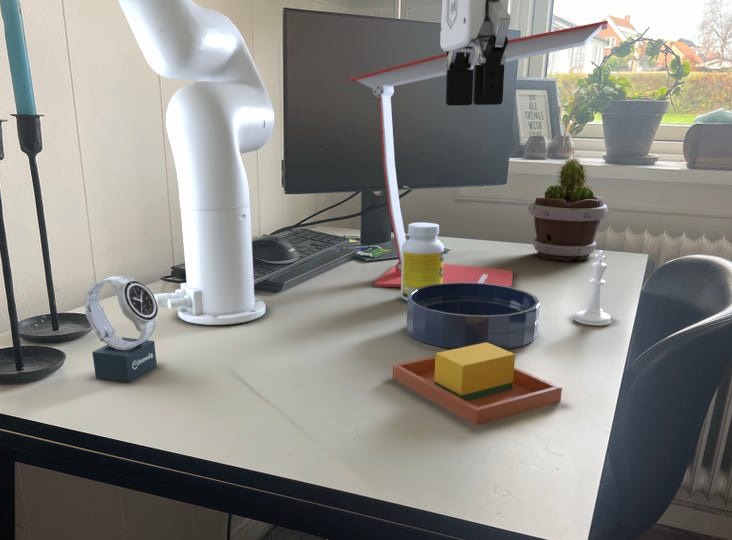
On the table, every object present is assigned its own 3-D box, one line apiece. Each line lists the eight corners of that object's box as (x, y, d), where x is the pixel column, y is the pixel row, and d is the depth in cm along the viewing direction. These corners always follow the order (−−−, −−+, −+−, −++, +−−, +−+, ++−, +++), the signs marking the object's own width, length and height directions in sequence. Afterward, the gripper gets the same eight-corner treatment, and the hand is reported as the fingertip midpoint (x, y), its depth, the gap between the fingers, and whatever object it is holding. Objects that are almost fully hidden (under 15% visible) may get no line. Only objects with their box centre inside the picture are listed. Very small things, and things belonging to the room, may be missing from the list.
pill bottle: (439, 305, 108) (443, 229, 104) (397, 303, 109) (399, 227, 105) (443, 294, 114) (446, 222, 110) (403, 292, 115) (405, 220, 111)
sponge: (460, 402, 72) (462, 365, 70) (433, 388, 75) (435, 352, 74) (512, 389, 75) (515, 353, 74) (484, 376, 79) (486, 342, 77)
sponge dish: (475, 429, 67) (477, 410, 66) (391, 381, 78) (392, 364, 78) (560, 405, 72) (562, 387, 72) (470, 363, 84) (471, 348, 83)
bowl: (461, 364, 84) (463, 324, 82) (382, 327, 97) (382, 292, 96) (563, 341, 92) (567, 304, 90) (477, 310, 105) (479, 277, 104)
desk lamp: (575, 303, 109) (608, 17, 95) (339, 284, 120) (338, 25, 106) (578, 278, 125) (606, 29, 111) (369, 263, 136) (372, 35, 122)
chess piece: (592, 327, 97) (601, 255, 94) (567, 318, 101) (574, 249, 98) (618, 322, 99) (628, 252, 96) (592, 314, 104) (600, 246, 100)
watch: (144, 385, 77) (133, 287, 74) (82, 376, 80) (69, 281, 76) (171, 367, 82) (163, 275, 79) (113, 360, 85) (102, 270, 81)
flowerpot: (597, 267, 133) (611, 156, 126) (516, 259, 139) (525, 154, 132) (607, 253, 145) (620, 152, 139) (532, 247, 152) (541, 149, 145)
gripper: (423, -49, 83) (420, 106, 89) (472, -87, 67) (465, 105, 73) (484, -48, 84) (477, 105, 90) (547, -85, 68) (534, 103, 74)
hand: (472, 104), depth 81 cm, fingers open, 9 cm apart
